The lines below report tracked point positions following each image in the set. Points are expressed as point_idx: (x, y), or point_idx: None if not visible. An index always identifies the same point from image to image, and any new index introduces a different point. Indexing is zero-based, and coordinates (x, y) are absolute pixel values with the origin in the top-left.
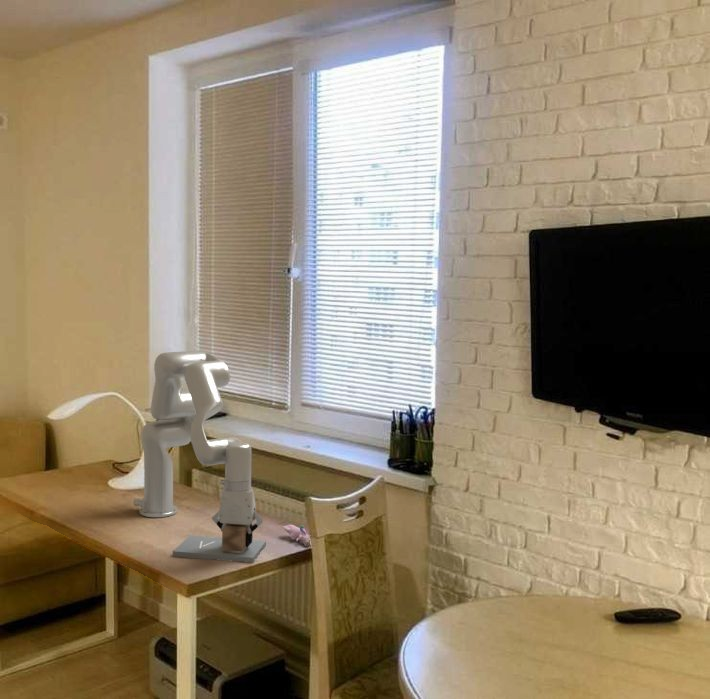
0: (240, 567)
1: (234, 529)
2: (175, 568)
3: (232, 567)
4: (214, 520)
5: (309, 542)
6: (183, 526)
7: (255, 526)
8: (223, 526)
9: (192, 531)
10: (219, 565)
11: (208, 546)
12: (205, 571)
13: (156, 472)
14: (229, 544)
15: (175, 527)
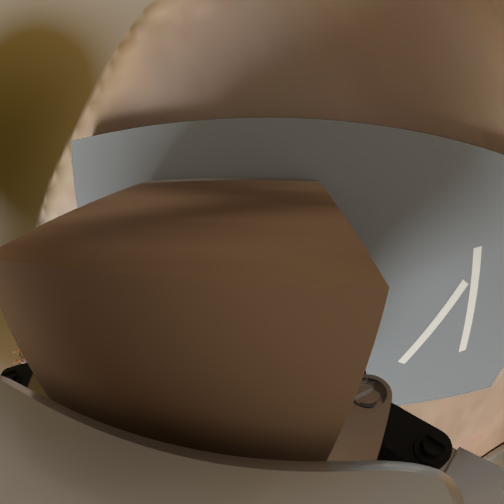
0: (137, 45)
1: (63, 262)
2: (489, 7)
3: (183, 26)
4: (477, 466)
5: (18, 356)
6: (470, 439)
7: (4, 376)
8: (365, 428)
9: (457, 428)
10: (281, 30)
11: (434, 284)
12: None
13: None
14: (239, 191)
15: (489, 427)
